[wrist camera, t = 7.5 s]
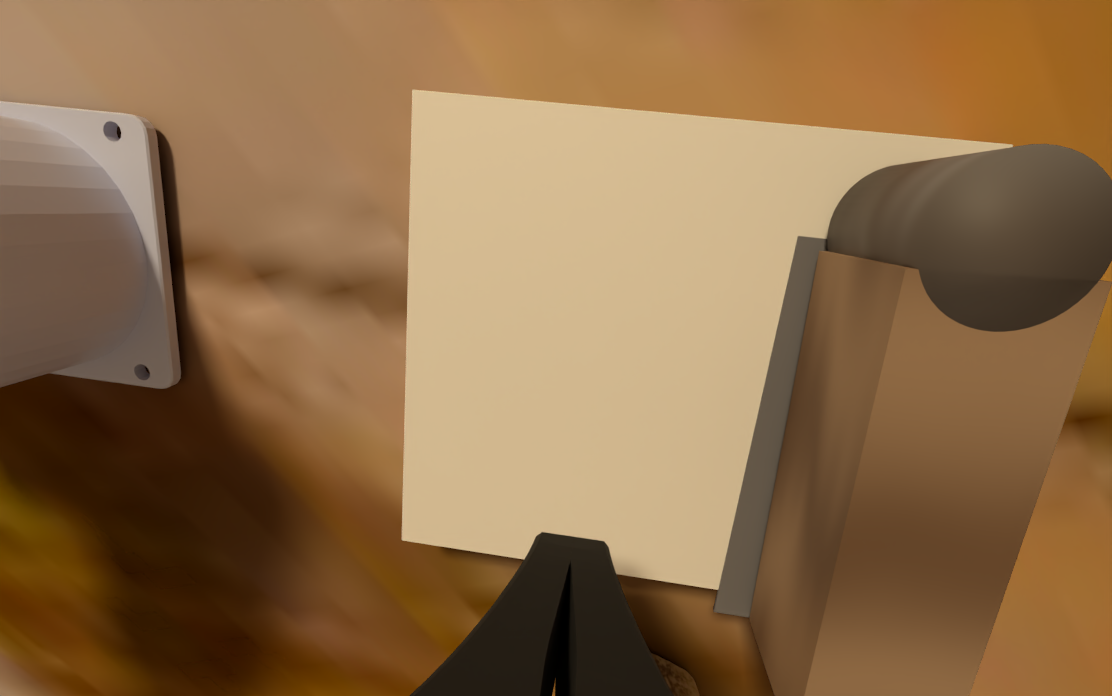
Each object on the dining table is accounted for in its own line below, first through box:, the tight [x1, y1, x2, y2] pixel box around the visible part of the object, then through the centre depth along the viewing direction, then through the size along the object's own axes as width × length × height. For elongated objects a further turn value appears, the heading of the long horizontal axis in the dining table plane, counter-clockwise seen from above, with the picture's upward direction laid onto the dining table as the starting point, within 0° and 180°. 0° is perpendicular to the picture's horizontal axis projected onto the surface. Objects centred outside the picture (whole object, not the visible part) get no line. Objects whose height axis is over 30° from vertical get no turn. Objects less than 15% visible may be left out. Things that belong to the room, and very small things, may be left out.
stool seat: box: [402, 90, 1013, 617], centre depth 14 cm, size 13×13×2 cm
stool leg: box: [749, 144, 1112, 696], centre depth 11 cm, size 12×3×4 cm, turn 177°
